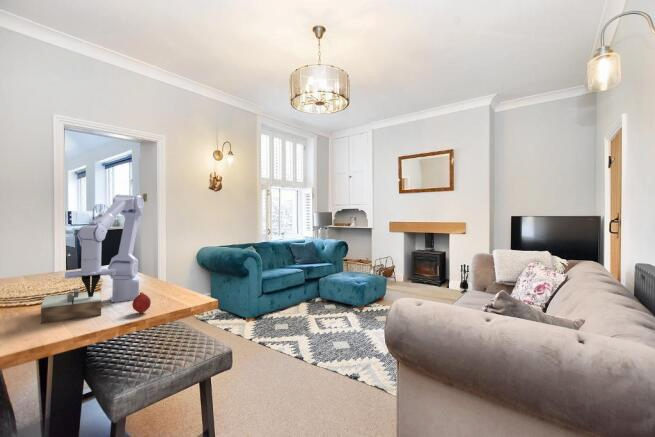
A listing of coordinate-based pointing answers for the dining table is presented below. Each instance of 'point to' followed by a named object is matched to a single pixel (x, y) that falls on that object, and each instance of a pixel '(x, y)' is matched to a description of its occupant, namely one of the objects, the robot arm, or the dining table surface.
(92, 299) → the inner panel
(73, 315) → the box
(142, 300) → the onion
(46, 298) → the outer panel
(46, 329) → the dining table surface
